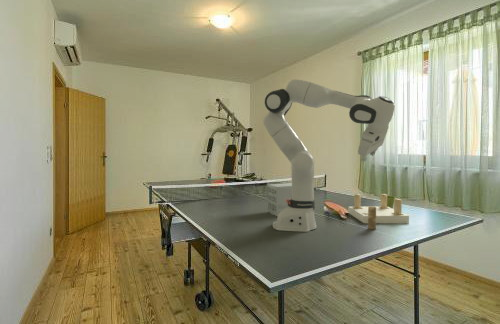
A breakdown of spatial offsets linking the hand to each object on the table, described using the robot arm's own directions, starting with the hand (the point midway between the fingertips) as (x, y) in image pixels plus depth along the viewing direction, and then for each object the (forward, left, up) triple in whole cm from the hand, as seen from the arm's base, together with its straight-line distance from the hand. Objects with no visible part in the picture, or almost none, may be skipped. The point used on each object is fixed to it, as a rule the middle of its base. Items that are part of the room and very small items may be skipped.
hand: (367, 157), depth 135 cm
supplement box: (-37, +35, -36) cm, 62 cm away
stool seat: (+15, +23, -36) cm, 45 cm away
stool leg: (+3, +1, -36) cm, 36 cm away
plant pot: (+31, +43, -36) cm, 64 cm away
